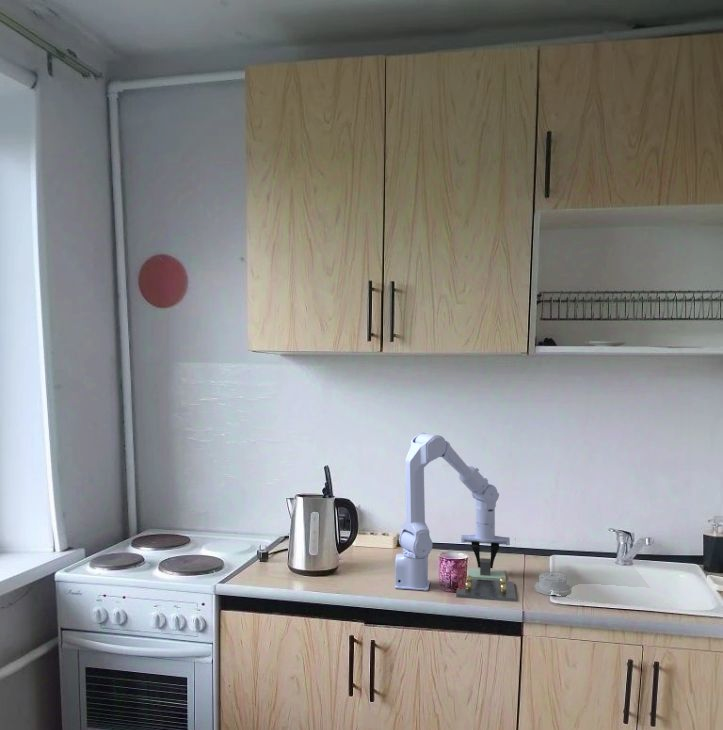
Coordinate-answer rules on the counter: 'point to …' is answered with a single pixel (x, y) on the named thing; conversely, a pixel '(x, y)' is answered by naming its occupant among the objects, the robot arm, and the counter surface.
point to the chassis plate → (488, 589)
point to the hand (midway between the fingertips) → (485, 567)
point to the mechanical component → (552, 584)
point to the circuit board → (493, 574)
